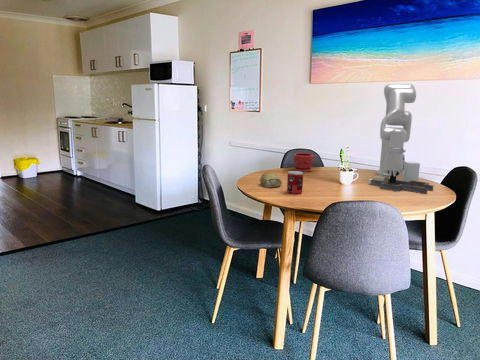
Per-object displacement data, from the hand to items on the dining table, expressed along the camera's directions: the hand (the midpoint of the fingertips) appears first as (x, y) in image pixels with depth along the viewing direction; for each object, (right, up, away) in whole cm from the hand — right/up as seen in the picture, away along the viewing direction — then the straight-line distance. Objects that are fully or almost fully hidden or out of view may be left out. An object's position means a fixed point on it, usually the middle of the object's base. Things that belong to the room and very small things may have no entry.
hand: (392, 182), depth 215 cm
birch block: (-5, -1, +5) cm, 7 cm away
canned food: (-59, -5, -19) cm, 62 cm away
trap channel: (+3, -3, -2) cm, 5 cm away
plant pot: (-44, +8, +45) cm, 64 cm away
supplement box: (+15, 0, +12) cm, 19 cm away
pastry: (-71, -2, -2) cm, 71 cm away
